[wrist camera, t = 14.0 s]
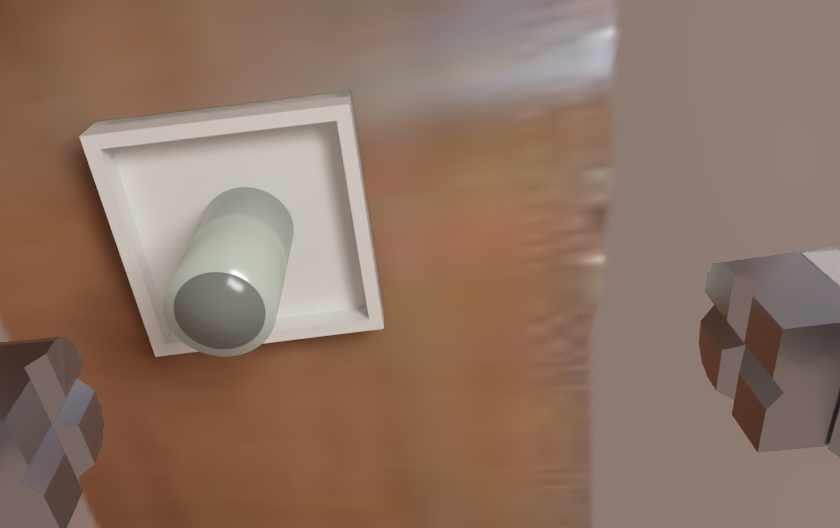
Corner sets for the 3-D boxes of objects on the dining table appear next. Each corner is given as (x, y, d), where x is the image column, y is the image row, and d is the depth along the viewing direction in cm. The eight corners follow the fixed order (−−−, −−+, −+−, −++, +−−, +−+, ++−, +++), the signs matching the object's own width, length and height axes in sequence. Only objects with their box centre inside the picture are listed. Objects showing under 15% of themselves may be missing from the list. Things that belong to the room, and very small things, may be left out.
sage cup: (192, 193, 40) (148, 271, 32) (284, 181, 40) (263, 256, 32) (215, 273, 43) (179, 364, 35) (301, 262, 43) (285, 350, 35)
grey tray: (95, 121, 39) (79, 136, 37) (350, 91, 39) (349, 103, 37) (165, 333, 46) (155, 356, 43) (383, 307, 46) (383, 328, 44)
